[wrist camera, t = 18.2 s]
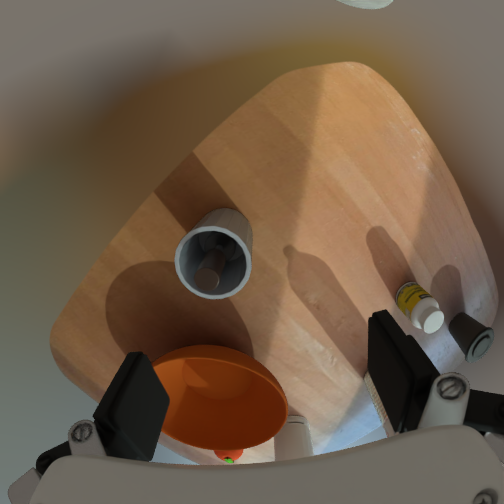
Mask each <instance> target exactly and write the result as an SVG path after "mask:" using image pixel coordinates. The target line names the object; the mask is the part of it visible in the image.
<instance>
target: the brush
mask: <svg viewBox="0 0 504 504" xmlns="http://www.w3.org/2000/svg"><path fill="white" fill-rule="evenodd" d="M236 246H237V241H236V240H235V239H234V238H232V237H230V236H229V235H227V234H225V233H222V232H218V231H211V233H210V235H209V236H208V238H207V239H206V241H205V244H204V251H205V256H204V258H203V260H202V262H201V263H200V265H199V267H198V269H197V271H196V273H195V275H194V281H195V284H196V285H197V287H198V288H200V289H201V290H204V291H211V290H214V289H215V288H216V287H217V286H218V284H219V281H220V278H221V274H222V271H223V268H224V265H225V262H227V261H229V260H230V259H231V258H232V257H233V256H234V253H235V250H236Z"/></svg>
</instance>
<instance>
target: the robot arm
mask: <svg viewBox="0 0 504 504" xmlns="http://www.w3.org/2000/svg"><path fill="white" fill-rule="evenodd" d="M368 372H369V375H370V377H371V379H372V382H373V384H374V386H375V388H376V390H377V393H378V395H379V397H380V400H381V402H382V404H383V407H384V409H385V411H386V414H387V416H388V418H389V421H390V423H391V425H392V428H393V430H394V432H395V433H396V432H399V434H398V435H395V436H391V437H388V438H384V439H381V440H378V441H374V442H371V443H367V444H363V445H360V446H356V447H352V448H347V449H344V450H339V451H335V452H330V453H325V454H320V455H315V456H309V457H303V458H297V459H290V460H283V461H274V462H265V463H253V464H237V465H184V464H166V463H155V462H149V461H151V460H152V458H153V455H154V452H155V448H156V445H157V442H158V439H159V435H160V432H161V429H162V426H163V423H164V420H165V416H166V413H167V410H168V407H169V404H170V398H169V395H168V394H167V392H166V390H165V388H164V387H163V385H162V383H161V381H160V379H159V377H158V376H157V374H156V372H155V370H154V368H153V366H152V364H151V362H150V360H149V358H148V357H147V355H145V354H143V352H129V353H128V354H127V356H126V358H125V360H124V361H123V363H122V365H121V366H120V368H119V370H118V371H117V373H116V375H115V377H114V378H113V380H112V382H111V384H110V385H109V387H108V389H107V391H106V392H105V394H104V396H103V398H102V400H101V401H100V403H99V406H98V407H97V409H96V410H95V412H94V414H93V417H94V419H95V420H94V422H92V421H90V420H81V421H78V422H77V423H75V424H74V425H73V426H72V427H71V428H70V430H69V432H68V441H66V442H64V443H63V444H60V445H58V446H57V447H54V448H52V449H50V450H48V451H46V452H44V453H42V454H41V455H40V456H39V457H38V459H37V461H36V469H35V468H31V469H30V470H29V471H28V472H26V473H25V474H24V475H23V476H21V477H20V478H19V479H18V480H17V481H15V482H14V483H13V484H12V485H11V486H10V487H9V489H8V497H9V499H10V501H11V503H12V504H504V468H503V466H502V464H501V462H502V463H503V464H504V395H501V394H495V393H489V392H483V391H478V390H472V389H470V384H469V381H468V380H467V378H466V377H465V376H463V375H461V374H459V373H455V372H449V373H444V374H442V375H440V373H439V372H438V370H437V369H436V367H435V366H434V365H433V363H432V362H431V360H430V359H429V358H428V356H427V355H426V354H425V352H424V351H423V350H422V348H421V347H420V345H419V344H418V343H417V341H416V340H415V339H414V338H413V337H412V336H411V335H407V336H406V334H405V333H404V332H403V330H402V329H401V328H400V326H399V325H398V324H397V322H396V321H395V320H394V318H393V317H392V316H391V315H390V313H389V312H388V311H387V310H382V311H378V312H374V313H373V314H372V317H369V319H368ZM475 496H476V497H475Z"/></svg>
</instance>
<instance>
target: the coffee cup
mask: <svg viewBox="0 0 504 504" xmlns="http://www.w3.org/2000/svg"><path fill="white" fill-rule="evenodd" d="M449 332H450V334H451V335H452V336H453V338H454V339H455V341H456V342H457V344H458V345H459V347H460V348H461V350H462V351H463V353H464V354H465V359H466V361H467V362H471V363H472V362H476V361H477V360H479V359H480V358H482V357H483V356H484V355H485V353H487V351H488V350H489V348H490V347H491V345H492V342H493V339H494V332H493V329H492V328H490V327H485V326H484V325H482V324H481V323H479V322H478V321H476V320H475V319H473V318H472V317H470V316H469V315H467V314H466V313H459V314H458V315H456V316H455V317H454V318H453V320H452V321H451V323H450V326H449Z"/></svg>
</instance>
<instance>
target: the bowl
mask: <svg viewBox="0 0 504 504" xmlns="http://www.w3.org/2000/svg"><path fill="white" fill-rule="evenodd" d="M152 366H153V368H154V370H155V372H156V374H157V376H158V377H159V379H160V381H161V383H162V385H163V387H164V388H165V390H166V392H167V394H168V395H169V398H170V404H169V407H168V410H167V413H166V416H165V420H164V423H163V426H162V429H161V431H162V432H163V433H165V434H166V435H168V436H170V437H172V438H173V439H175V440H178V441H180V442H182V443H185V444H188V445H191V446H194V447H198V448H202V449H208V450H218V451H231V450H241V449H246V448H250V447H254V446H257V445H259V444H262V443H264V442H266V441H267V440H269V439H271V438H272V437H274V436H275V435H276V434H277V433H278V432H279V431H280V430H281V429H282V427H283V426H284V424H285V422H286V419H287V416H288V403H287V399H286V396H285V393H284V391H283V389H282V387H281V386H280V384H279V382H278V381H277V379H276V378H275V377H274V376H273V375H272V373H271V372H270V371H269V370H268V369H267V368H266V367H264V366H263V365H262V364H261V363H259V362H258V361H257V360H255V359H254V358H252V357H250V356H248V355H246V354H244V353H242V352H240V351H237V350H234V349H231V348H228V347H223V346H218V345H193V346H187V347H183V348H179V349H176V350H173V351H171V352H169V353H167V354H165V355H163V356H161V357H160V358H158V359H157V360H155V361H154V362H153V363H152Z"/></svg>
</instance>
